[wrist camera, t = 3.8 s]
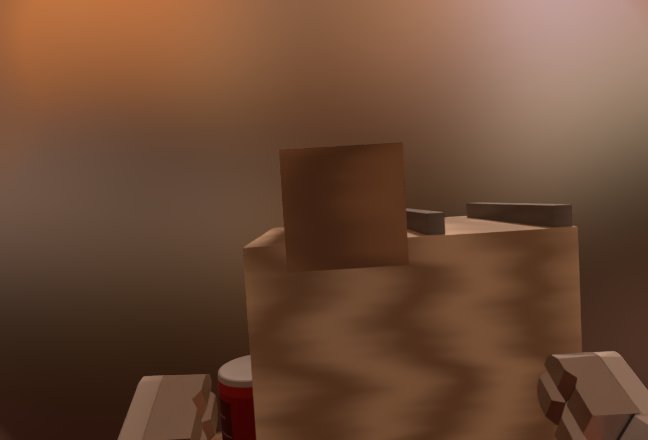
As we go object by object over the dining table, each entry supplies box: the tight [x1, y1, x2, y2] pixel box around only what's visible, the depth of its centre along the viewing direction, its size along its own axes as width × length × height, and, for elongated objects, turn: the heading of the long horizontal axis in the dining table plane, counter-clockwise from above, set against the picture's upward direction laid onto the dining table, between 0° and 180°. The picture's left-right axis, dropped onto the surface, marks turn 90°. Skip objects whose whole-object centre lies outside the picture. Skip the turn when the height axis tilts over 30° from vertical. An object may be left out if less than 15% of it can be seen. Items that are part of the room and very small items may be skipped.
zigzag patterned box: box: [243, 203, 582, 440], centre depth 32 cm, size 18×16×27 cm
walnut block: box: [279, 143, 409, 273], centre depth 26 cm, size 4×24×4 cm, turn 1°
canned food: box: [218, 355, 256, 440], centre depth 47 cm, size 8×8×11 cm
